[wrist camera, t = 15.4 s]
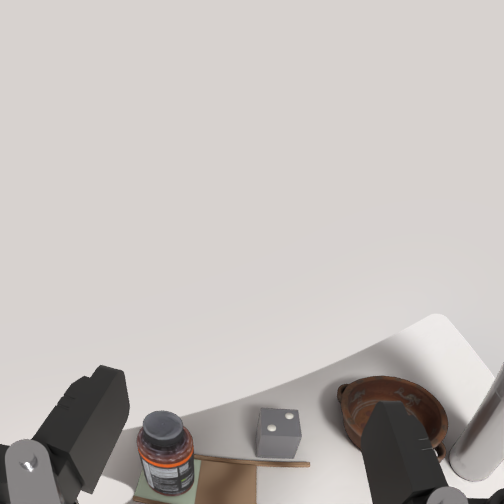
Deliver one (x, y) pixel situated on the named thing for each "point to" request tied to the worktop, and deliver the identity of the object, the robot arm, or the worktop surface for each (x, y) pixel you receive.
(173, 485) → the supplement bottle
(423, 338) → the worktop surface
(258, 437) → the die
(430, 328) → the worktop surface
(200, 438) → the worktop surface
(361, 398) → the dish
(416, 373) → the worktop surface
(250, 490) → the board
